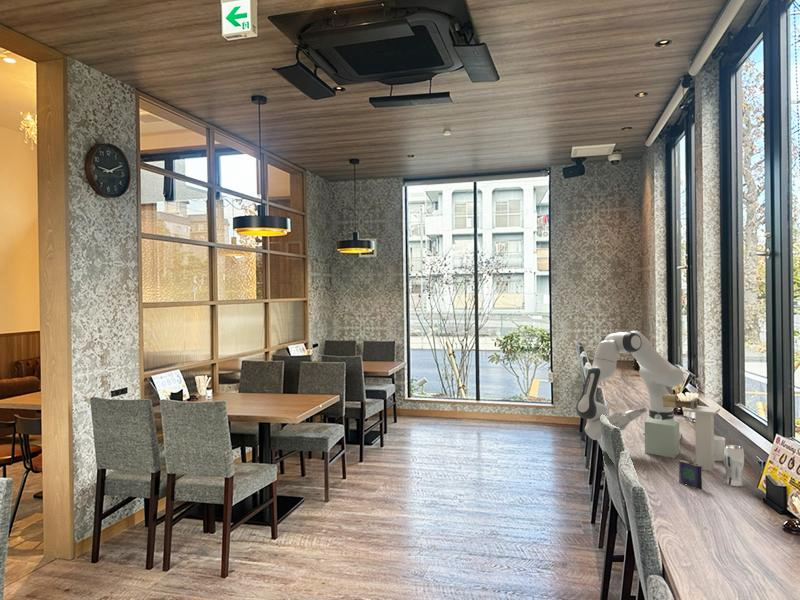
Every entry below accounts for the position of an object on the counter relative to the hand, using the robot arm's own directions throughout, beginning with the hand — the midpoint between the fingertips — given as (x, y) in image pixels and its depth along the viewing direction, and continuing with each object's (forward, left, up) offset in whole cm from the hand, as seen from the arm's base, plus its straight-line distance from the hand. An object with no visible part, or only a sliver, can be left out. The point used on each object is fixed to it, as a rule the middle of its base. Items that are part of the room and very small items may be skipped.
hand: (642, 410), depth 246 cm
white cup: (-18, +26, -22) cm, 39 cm away
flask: (+28, +25, -22) cm, 44 cm away
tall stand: (0, +24, -22) cm, 33 cm away
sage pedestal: (-13, +5, -22) cm, 26 cm away
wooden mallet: (0, +16, +4) cm, 16 cm away
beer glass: (+16, +38, -22) cm, 47 cm away
